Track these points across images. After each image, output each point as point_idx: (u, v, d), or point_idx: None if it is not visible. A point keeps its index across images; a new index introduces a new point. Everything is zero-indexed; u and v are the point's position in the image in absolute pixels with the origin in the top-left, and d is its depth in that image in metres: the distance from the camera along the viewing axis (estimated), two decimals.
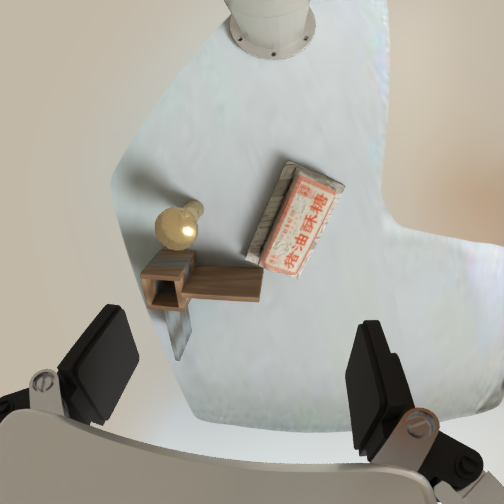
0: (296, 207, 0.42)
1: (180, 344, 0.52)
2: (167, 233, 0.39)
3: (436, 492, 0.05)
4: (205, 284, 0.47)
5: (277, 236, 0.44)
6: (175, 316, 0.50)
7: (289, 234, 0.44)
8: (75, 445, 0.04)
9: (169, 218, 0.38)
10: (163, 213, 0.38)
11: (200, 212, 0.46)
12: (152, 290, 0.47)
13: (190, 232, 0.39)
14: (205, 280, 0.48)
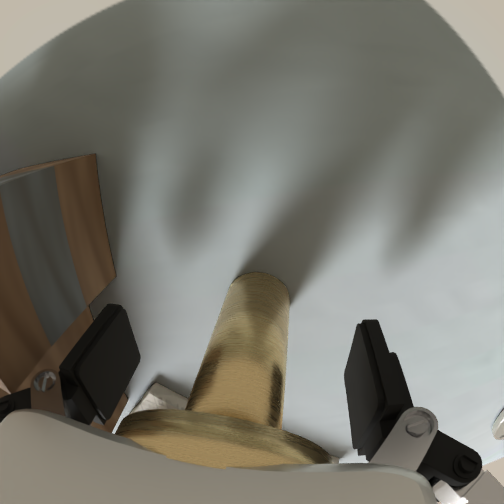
0: None
1: None
2: None
3: (435, 492, 0.05)
4: None
5: None
6: None
7: None
8: (75, 445, 0.04)
9: None
10: None
11: None
12: None
13: None
14: (46, 363, 0.12)
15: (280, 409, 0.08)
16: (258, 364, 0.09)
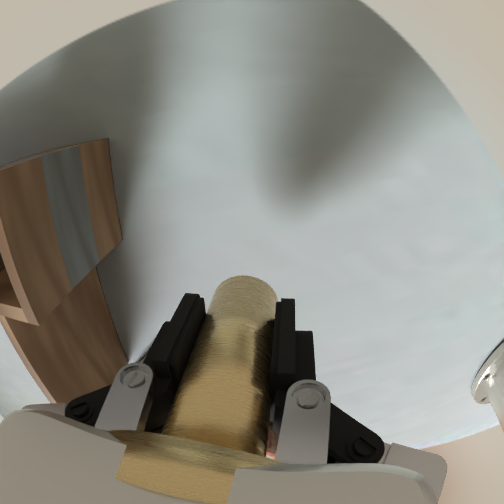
0: None
1: None
2: None
3: None
4: (53, 333, 0.14)
5: None
6: None
7: None
8: (75, 445, 0.04)
9: None
10: None
11: None
12: None
13: None
14: (61, 316, 0.15)
15: (265, 425, 0.07)
16: (241, 377, 0.08)
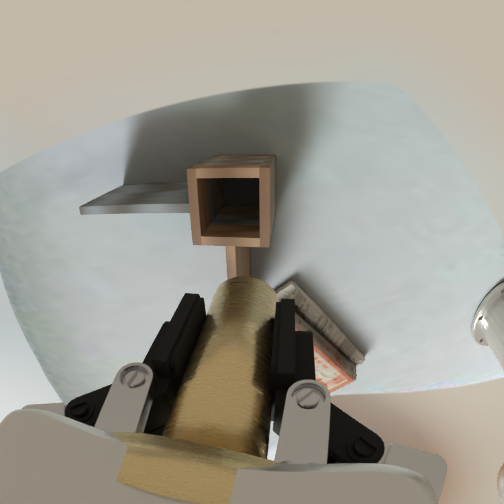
0: (327, 370, 0.36)
1: None
2: None
3: None
4: (241, 265, 0.29)
5: None
6: None
7: None
8: (75, 445, 0.04)
9: None
10: None
11: None
12: None
13: None
14: (243, 256, 0.30)
15: (266, 426, 0.07)
16: (242, 378, 0.08)
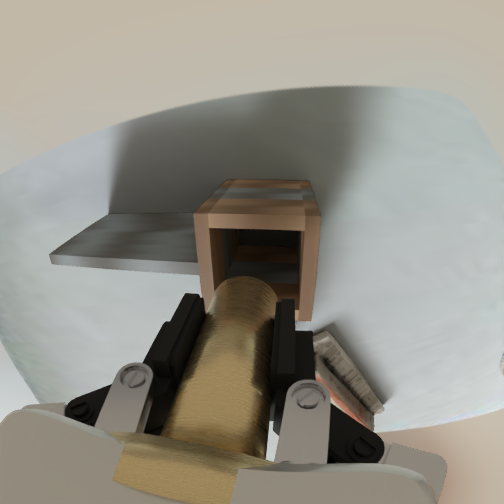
0: None
1: None
2: None
3: None
4: None
5: (336, 404, 0.28)
6: None
7: None
8: (75, 445, 0.04)
9: None
10: None
11: None
12: None
13: None
14: None
15: (265, 426, 0.07)
16: (241, 378, 0.08)
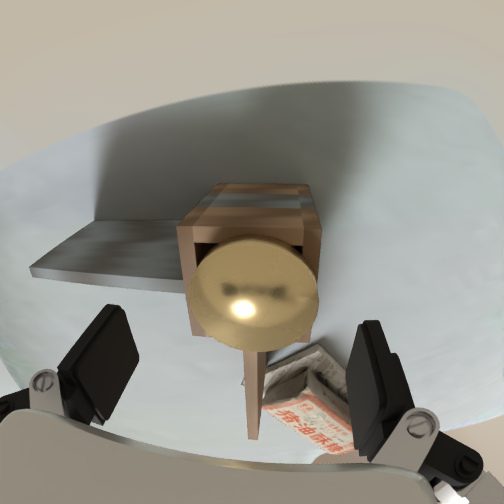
0: (346, 436, 0.28)
1: None
2: (241, 283, 0.13)
3: (436, 493, 0.05)
4: None
5: (332, 418, 0.26)
6: None
7: (324, 426, 0.27)
8: (75, 445, 0.04)
9: (291, 296, 0.13)
10: (308, 282, 0.13)
11: None
12: None
13: (247, 341, 0.14)
14: None
15: None
16: None
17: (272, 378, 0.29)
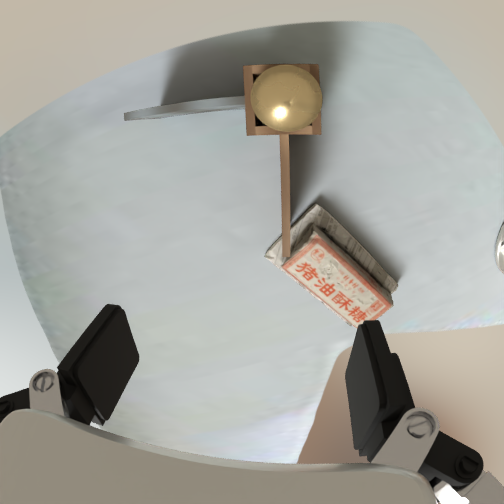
0: (364, 295, 0.36)
1: (154, 116, 0.27)
2: (280, 85, 0.21)
3: (436, 492, 0.05)
4: None
5: (344, 267, 0.35)
6: None
7: (341, 280, 0.36)
8: (75, 445, 0.04)
9: (306, 91, 0.21)
10: (315, 82, 0.21)
11: None
12: None
13: (284, 123, 0.23)
14: None
15: None
16: None
17: None
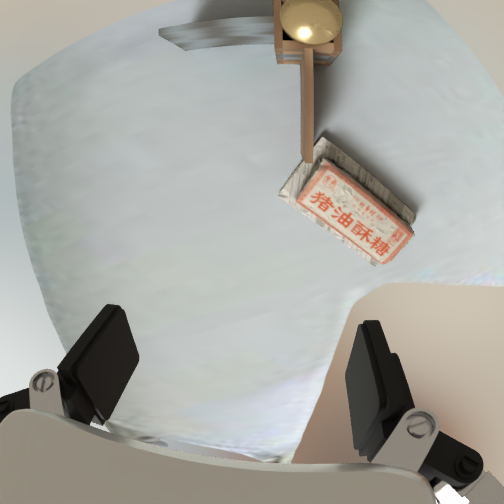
0: (383, 223, 0.35)
1: (186, 35, 0.25)
2: (306, 7, 0.20)
3: (436, 492, 0.05)
4: None
5: (358, 193, 0.33)
6: (245, 30, 0.25)
7: (357, 207, 0.34)
8: (75, 445, 0.04)
9: (329, 13, 0.20)
10: (336, 7, 0.20)
11: None
12: None
13: (309, 36, 0.21)
14: None
15: None
16: None
17: (299, 179, 0.37)
